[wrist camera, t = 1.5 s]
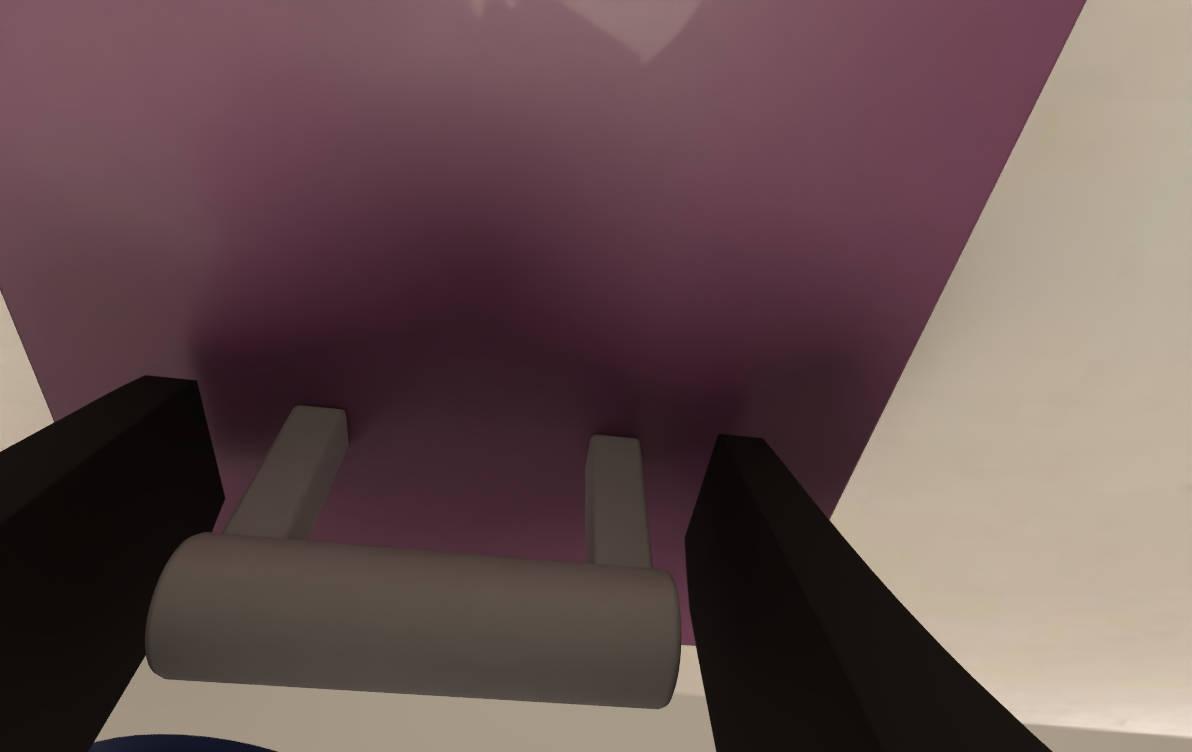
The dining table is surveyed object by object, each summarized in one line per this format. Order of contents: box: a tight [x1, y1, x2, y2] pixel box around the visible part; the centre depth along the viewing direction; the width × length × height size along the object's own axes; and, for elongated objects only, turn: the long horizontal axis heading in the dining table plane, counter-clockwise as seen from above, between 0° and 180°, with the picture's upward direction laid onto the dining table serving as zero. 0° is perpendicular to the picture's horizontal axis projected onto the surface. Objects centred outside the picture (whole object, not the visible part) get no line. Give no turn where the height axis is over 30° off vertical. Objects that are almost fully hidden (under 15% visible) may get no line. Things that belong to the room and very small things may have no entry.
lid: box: [0, 0, 1087, 709], centre depth 7 cm, size 13×11×4 cm
